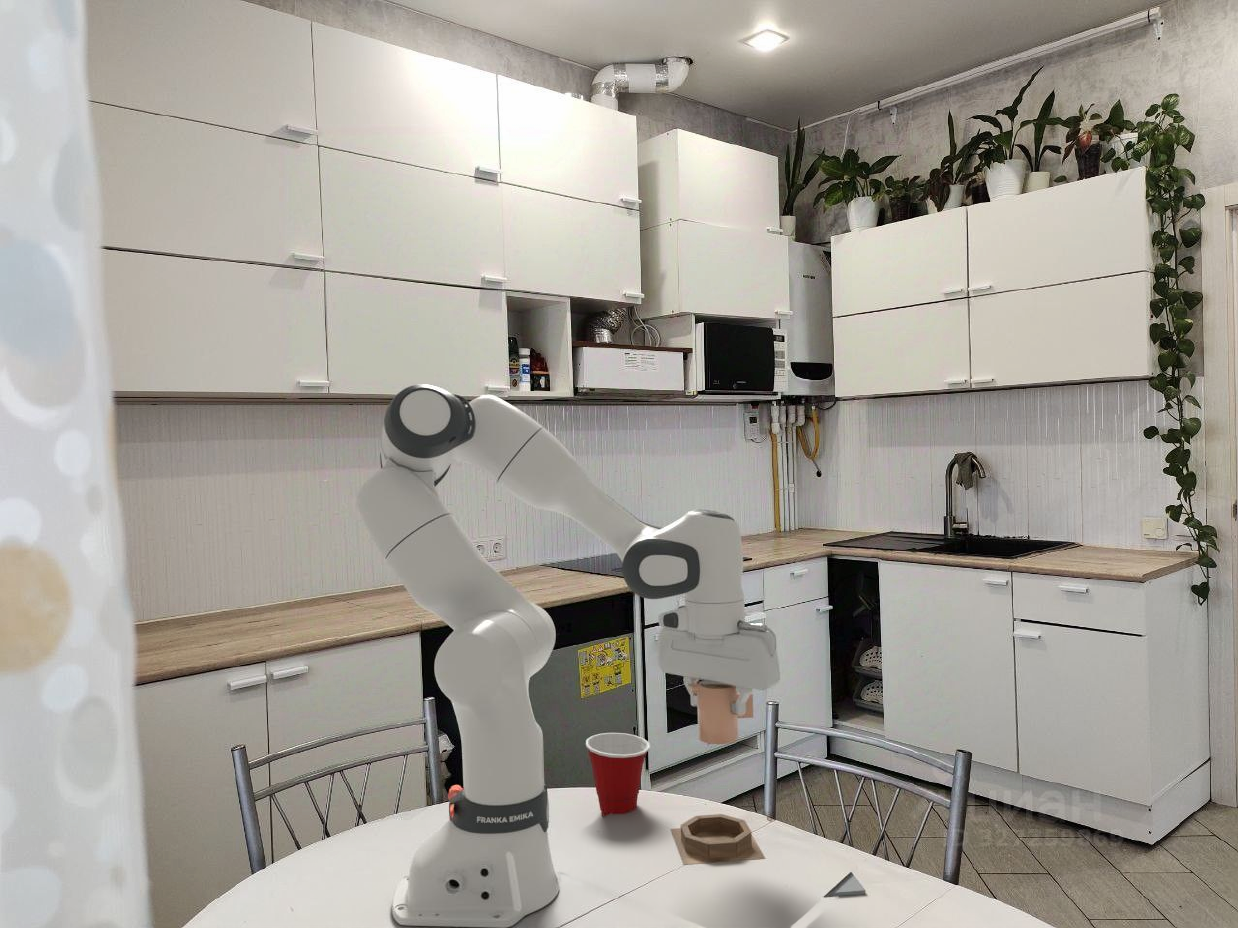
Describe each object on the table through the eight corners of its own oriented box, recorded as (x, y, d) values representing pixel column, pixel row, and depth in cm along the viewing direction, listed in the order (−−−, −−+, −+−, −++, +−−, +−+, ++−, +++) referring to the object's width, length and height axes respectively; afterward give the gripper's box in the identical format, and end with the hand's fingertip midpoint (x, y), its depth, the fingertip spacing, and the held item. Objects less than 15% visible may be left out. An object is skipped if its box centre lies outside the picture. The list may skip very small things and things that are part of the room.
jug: (694, 745, 128) (693, 690, 128) (690, 732, 134) (688, 679, 134) (756, 742, 128) (755, 687, 128) (749, 729, 134) (747, 677, 134)
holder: (683, 871, 125) (683, 849, 125) (670, 835, 137) (669, 814, 137) (765, 864, 127) (765, 843, 126) (745, 829, 138) (744, 809, 138)
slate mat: (792, 899, 117) (792, 895, 117) (772, 864, 127) (772, 861, 127) (865, 893, 118) (865, 889, 118) (839, 859, 128) (839, 855, 128)
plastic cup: (646, 828, 140) (644, 753, 140) (580, 824, 142) (578, 750, 142) (656, 801, 151) (654, 731, 151) (595, 797, 153) (593, 729, 153)
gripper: (786, 621, 126) (789, 716, 127) (674, 608, 140) (677, 694, 140) (763, 629, 122) (766, 728, 122) (649, 614, 135) (652, 703, 135)
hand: (717, 709), depth 131 cm, fingers closed on jug, 6 cm apart
